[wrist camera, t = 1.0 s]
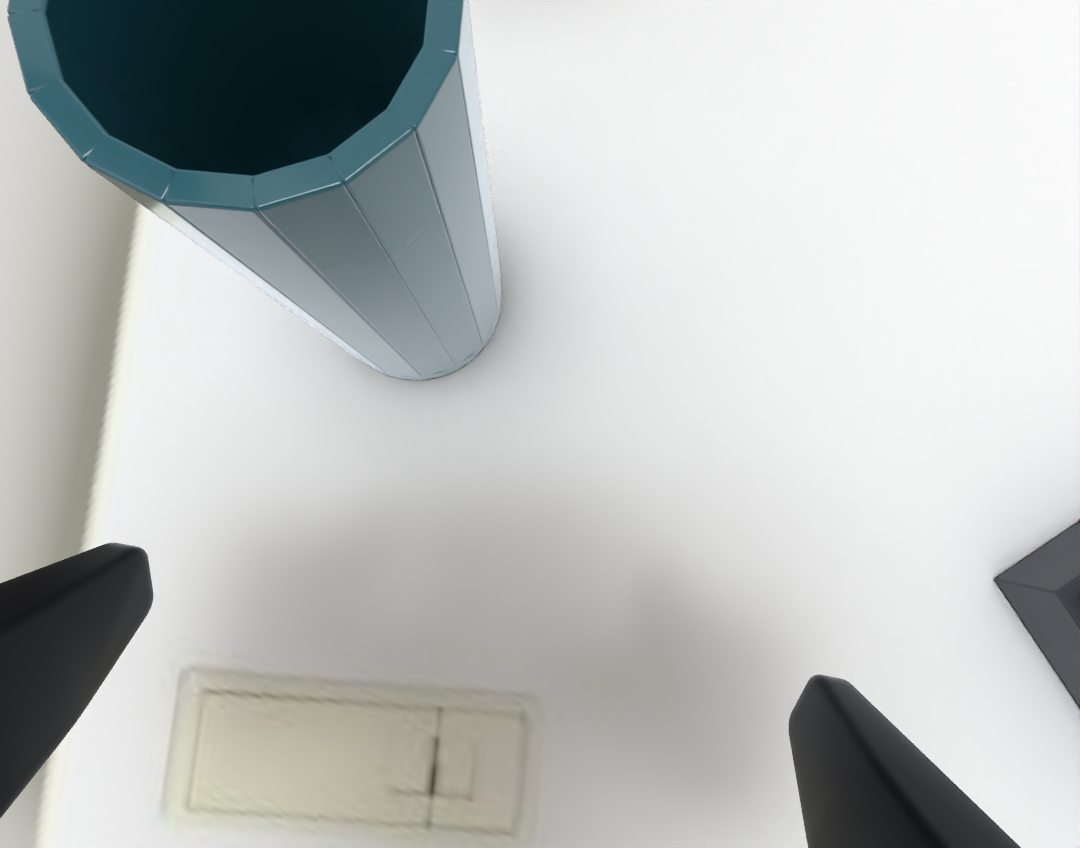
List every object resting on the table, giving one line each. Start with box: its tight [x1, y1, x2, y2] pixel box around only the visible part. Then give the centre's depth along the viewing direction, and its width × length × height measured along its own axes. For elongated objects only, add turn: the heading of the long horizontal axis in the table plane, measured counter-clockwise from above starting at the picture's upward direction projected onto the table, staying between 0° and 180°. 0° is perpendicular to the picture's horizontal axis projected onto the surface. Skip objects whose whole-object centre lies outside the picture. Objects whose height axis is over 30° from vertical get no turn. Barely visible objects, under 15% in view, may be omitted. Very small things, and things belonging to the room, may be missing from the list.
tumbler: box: [7, 0, 502, 380], centre depth 14 cm, size 6×6×13 cm
